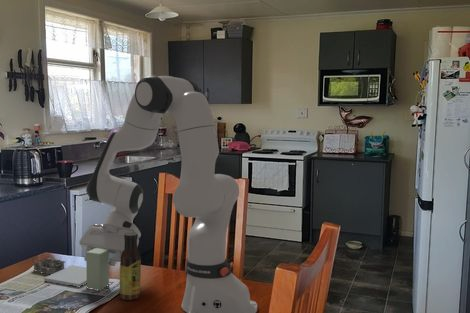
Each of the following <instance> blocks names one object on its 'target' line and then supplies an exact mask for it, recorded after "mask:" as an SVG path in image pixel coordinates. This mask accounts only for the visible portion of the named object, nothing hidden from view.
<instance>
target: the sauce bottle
mask: <svg viewBox="0 0 470 313" xmlns="http://www.w3.org/2000/svg"><path fill="white" fill-rule="evenodd" d="M137 238H138V234H137V233H125V234H124V239H125V246H124V247H125V249H124V251H123V252H122V254H121V259H120V263H119V298H120V299H121V300H123V301H133V300H136V299H137V300H138V299H139V297H140V293H141V276H142V274H141V267H142V264H141V263H142V259H141V255H140V252H139V250H138V247H137ZM138 239H139V238H138Z"/></svg>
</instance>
